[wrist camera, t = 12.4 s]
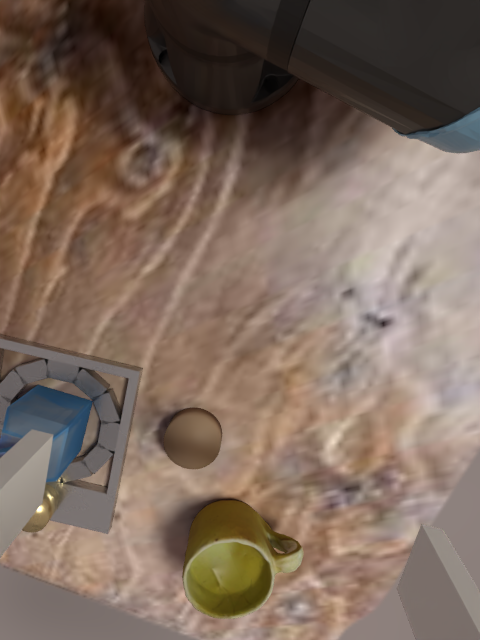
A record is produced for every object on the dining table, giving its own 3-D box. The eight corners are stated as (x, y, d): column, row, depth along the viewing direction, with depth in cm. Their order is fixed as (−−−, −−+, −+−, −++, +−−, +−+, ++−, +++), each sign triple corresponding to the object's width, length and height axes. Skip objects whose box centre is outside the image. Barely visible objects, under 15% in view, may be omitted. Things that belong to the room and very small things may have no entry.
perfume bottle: (27, 434, 50) (-43, 498, 39) (38, 384, 49) (-32, 435, 37) (80, 450, 51) (26, 519, 39) (92, 401, 49) (40, 457, 38)
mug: (180, 587, 52) (183, 639, 42) (180, 495, 53) (182, 524, 43) (284, 577, 54) (310, 625, 44) (282, 488, 55) (306, 515, 45)
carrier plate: (-4, 333, 48) (-29, 343, 44) (142, 368, 48) (131, 381, 44) (-23, 495, 52) (-47, 518, 48) (111, 526, 52) (99, 552, 48)
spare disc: (174, 401, 49) (169, 410, 47) (227, 414, 49) (226, 424, 47) (163, 450, 50) (158, 461, 48) (215, 462, 50) (213, 474, 48)
